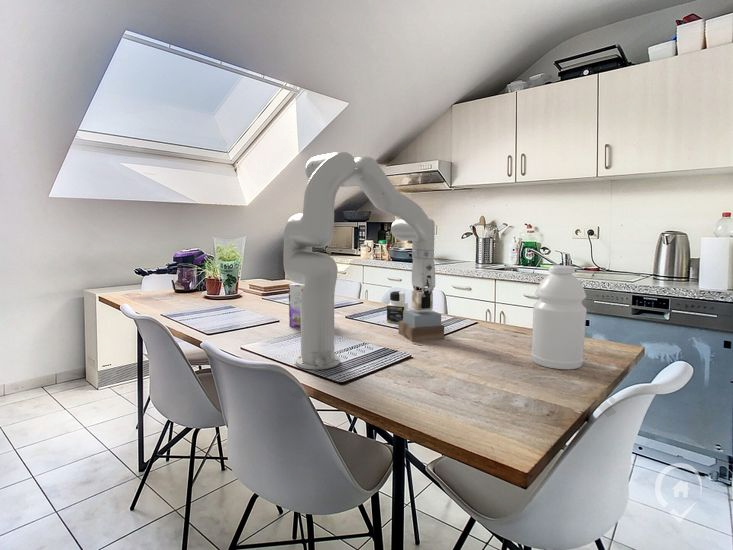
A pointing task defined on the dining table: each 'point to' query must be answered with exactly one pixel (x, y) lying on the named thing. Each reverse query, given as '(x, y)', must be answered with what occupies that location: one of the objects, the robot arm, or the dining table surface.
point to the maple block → (417, 300)
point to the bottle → (559, 320)
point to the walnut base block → (421, 332)
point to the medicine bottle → (396, 307)
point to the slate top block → (421, 318)
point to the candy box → (295, 304)
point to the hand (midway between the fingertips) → (421, 306)
